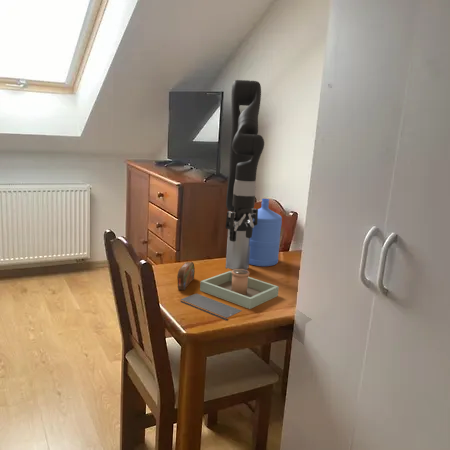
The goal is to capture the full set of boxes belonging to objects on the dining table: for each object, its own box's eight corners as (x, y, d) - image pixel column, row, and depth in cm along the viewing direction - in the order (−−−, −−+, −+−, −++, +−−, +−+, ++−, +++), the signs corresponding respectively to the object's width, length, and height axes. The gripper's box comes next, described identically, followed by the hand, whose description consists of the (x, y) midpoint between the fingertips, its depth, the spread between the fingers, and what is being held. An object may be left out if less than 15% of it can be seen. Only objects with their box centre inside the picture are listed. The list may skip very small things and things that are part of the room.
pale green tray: (229, 281, 185) (230, 270, 183) (277, 298, 171) (278, 286, 170) (199, 293, 171) (200, 281, 170) (249, 311, 158) (250, 299, 157)
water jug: (268, 269, 202) (274, 204, 196) (236, 261, 210) (240, 198, 203) (283, 261, 215) (289, 199, 209) (252, 253, 223) (257, 194, 216)
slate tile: (196, 296, 169) (196, 293, 168) (241, 313, 157) (242, 310, 156) (180, 302, 162) (180, 299, 162) (226, 320, 150) (226, 317, 150)
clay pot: (237, 288, 175) (238, 267, 174) (251, 293, 172) (252, 272, 170) (226, 292, 171) (228, 271, 169) (240, 297, 167) (242, 275, 165)
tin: (183, 294, 169) (184, 271, 167) (175, 293, 170) (176, 270, 168) (194, 280, 184) (196, 259, 182) (187, 279, 184) (188, 258, 182)
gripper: (249, 190, 172) (245, 234, 175) (222, 193, 161) (218, 239, 164) (265, 193, 167) (261, 239, 170) (239, 196, 156) (235, 244, 160)
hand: (240, 239), depth 167 cm, fingers open, 8 cm apart
